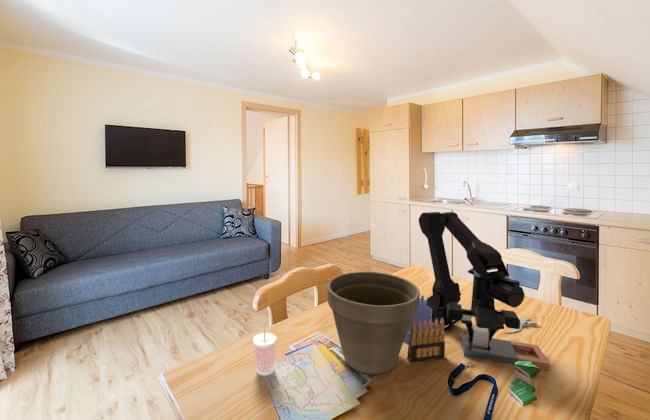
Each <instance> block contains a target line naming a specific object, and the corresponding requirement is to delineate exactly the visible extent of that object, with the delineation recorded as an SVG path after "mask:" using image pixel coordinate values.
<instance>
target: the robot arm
mask: <svg viewBox="0 0 650 420" xmlns="http://www.w3.org/2000/svg"><path fill="white" fill-rule="evenodd" d="M418 225H419V228H420V231H421V233H422V234H423V235H424V236H425V237H426V239H427V244H428V249H429V254H430V259H431V263H432V269H433V275H434V282H433V285H432V289H431V290H432V295H430V296H429V297H428V298H427V299H426V304H427V307H429V308H430V309H431V311H430V312H431V315H430V319H432V322H433V323H435V320H436V318H437V319H438V323H439V325H440V321H441V319H442V318H443V319H444V325H448V324H449V326H448V327H447V328H446V329H447V330H448V329H449V330H451V329H452V326H453V323H454V321H460V323H461V324H463V325H465V326H466V329H467V332H468V335H469V337H470V341H471V342H472V338H473V336H472V324H473V322H472V318H475V324H476V326H477V327H479V328H488V331H489V341H488V344H489V342H490V341H491V339H492V338H493V337H494V335H495V334H496V333H497V332H498V331H500V330H504V329H505V327H506V328H508V329H512V328H513V329H520V319H521V318H519V316H518V315H517V313H516V312H515V311H514V310H513V311H512V310H507V309H506V310H505V309H500V311H499V310H498V309H496V307H495V300H497V301H499V302H500V303H502V304H505V305H507V306H509V307H511V308H518V307H519V306H521V305H522V303H523V301H524V299H525V296H526V295H525V292H524V288H522V286H520V285H521V284H520V283H521V282H520V281H519V280H515V279H511V278H509V277H510V272H509V271H508V268H507V267H506V265H505V263H504V261H503V259H502V257H503V256H502V255H501V253H500V251H499V250H497V249H496V248H494V247H493V246H491V244H488V243H485V242H484V241H482V240H480V239H479V238H478V237H477V235H475V233H473V232H472V230H470V228H469V227H468V226H467V225H466V224H465V222H463V221H462V220H461V219H460V218H459V215H458V213H456V212H455V211H454V212H453V211H448V212H446V211H445V212H440V211H433V212H432V211H429V212H428V211H427V212H422V213H420V216H419V217H418ZM446 229H447V230H448V231H449V233H450V234H451V235H452V237H454V239H455V240H456V241H457V242H458V243H459V244H460V246H462V247H463V248H464V250H465V251H466V258H467V260H468V262H469V263H470V264H471V266H472V268H471V269H468V270H467V272H468V274H470V275H473V281H472V292H471V293H472V295H471V305H470V306H471V307H470V309H464V308H462V304H459V303H460V301H461V296H462V293H461V290H460V285H459V283H458V282H455V281H454V280H453V279H452V277H451V272H450V268H449V267H450V266H449V264H448V263H449V262H448V258H447V253H446V248H445V244H444V238H443V235H444V233H445V230H446ZM494 270H495V271H494Z"/></svg>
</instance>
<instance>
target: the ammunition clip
mask: <svg viewBox="0 0 650 420" xmlns="http://www.w3.org/2000/svg"><path fill="white" fill-rule="evenodd" d="M411 322H412V323H411V325H410V326H411V327H410V334H409V342H408V348H407V356H406V357H407V360H408V362H409V363H410V364H412V363H421V362H426V361H434V360H435V361H436V360H442V359H445V358H446V357H445V355H446V354H445V353H446V352H445V351H446V350H445V349H446V348H445V347H446V342H445V328H444V319H443V318H442V319H441V321H440V327H439V323H438V319H437V318H436V320H435V323H434V326H433V322H432V319H431V318H430V320H429V322H428V321H427V319H424V321H423V325H422V322H421V319H420V320H418V321H417V325H416V323H415V322H416V321H415V320H413V321H411Z"/></svg>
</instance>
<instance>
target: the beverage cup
mask: <svg viewBox="0 0 650 420" xmlns="http://www.w3.org/2000/svg"><path fill="white" fill-rule="evenodd" d="M262 324H263V327H262V328H263V332H261V333H258V334H256V335H254V337H253V338H252V339H253V340H252V345H253V346H254V356H255V366H256V373H257V375H260V376H269V375H271V374H272V373H273V372H274V370H275V359H276V358H275V356H276V342H277V336H276V335H275V334H274V333H272V332H266V320H263V323H262Z"/></svg>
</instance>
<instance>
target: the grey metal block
mask: <svg viewBox="0 0 650 420" xmlns="http://www.w3.org/2000/svg"><path fill="white" fill-rule="evenodd" d="M472 336H473V338H472V342H471V341H470V347H471V348H477V349H483V350H488V341H489V331H488V328H479V327H477V326H476V323H475V324H474V323H472Z"/></svg>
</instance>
